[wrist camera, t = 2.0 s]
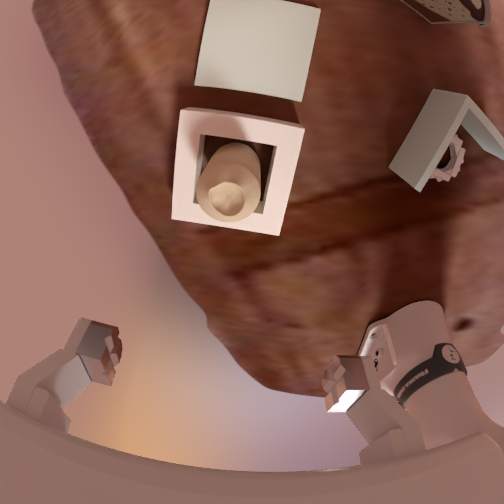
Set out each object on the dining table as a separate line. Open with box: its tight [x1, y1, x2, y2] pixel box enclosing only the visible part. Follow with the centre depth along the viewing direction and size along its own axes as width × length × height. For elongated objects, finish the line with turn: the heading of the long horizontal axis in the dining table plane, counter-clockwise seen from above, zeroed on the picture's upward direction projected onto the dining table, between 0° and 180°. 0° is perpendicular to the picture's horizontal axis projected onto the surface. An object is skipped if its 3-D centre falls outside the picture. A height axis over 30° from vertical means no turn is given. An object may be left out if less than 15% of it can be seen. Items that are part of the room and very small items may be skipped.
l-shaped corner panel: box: [389, 89, 504, 192], centre depth 26 cm, size 12×12×8 cm
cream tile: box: [194, 0, 321, 102], centre depth 23 cm, size 11×11×1 cm
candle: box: [196, 143, 261, 222], centre depth 27 cm, size 6×6×10 cm
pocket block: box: [172, 107, 305, 236], centre depth 30 cm, size 12×12×4 cm
